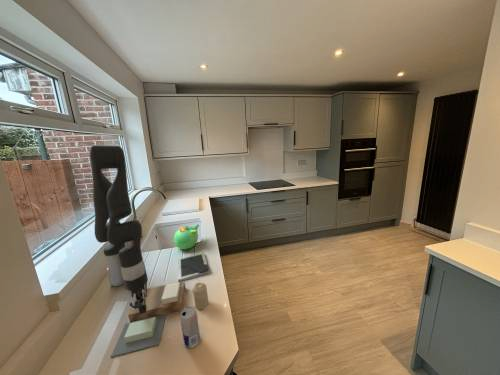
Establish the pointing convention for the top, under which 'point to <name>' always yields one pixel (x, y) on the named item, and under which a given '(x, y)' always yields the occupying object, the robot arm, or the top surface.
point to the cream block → (171, 293)
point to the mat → (142, 343)
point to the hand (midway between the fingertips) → (143, 311)
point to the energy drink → (190, 327)
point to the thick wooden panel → (158, 304)
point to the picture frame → (192, 267)
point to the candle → (200, 296)
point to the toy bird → (186, 237)
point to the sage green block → (140, 330)
